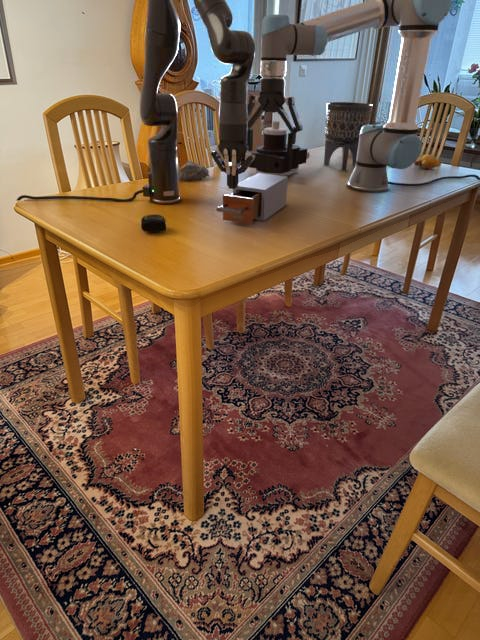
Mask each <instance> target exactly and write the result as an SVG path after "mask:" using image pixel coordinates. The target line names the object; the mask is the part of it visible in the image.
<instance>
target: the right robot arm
mask: <svg viewBox="0 0 480 640" xmlns="http://www.w3.org/2000/svg"><path fill="white" fill-rule="evenodd" d="M452 1H453V0H365V1H363V2H360V3H357V4H354V5H351V6H347V7H344V8H341V9H339V10H334V11H332V12H329V13H325V14H323V15H320V16H317V17H314V18H310V19H307V20H304V21H302V22H299V23H296V24H295V23H294V24H293V23H291V22H290V17H289V16H288V15H287V14H266V15H265V16H264V17H263V18H262V23H261V33H260V34H261V35H260V36H261V42H260V43H261V45H260V47H261V48H260V49H261V50H260V75H259V76H260V77H261V78H260V80H259V95H256V94H250V95H249V99H248V103H247V107H248V132H247V146H248V151H249V152H250V151H251V152H253V146H254V128H252V127H253V126H254V125H255V123H256V122H257V121H258V119H259V118H260V117H261V116H262V114H263V113H264V112H265V113H273V114H274V113H277V114H278V115H279V116H280V118H281V119H282V121H283V122H284V124H285V126H286V127H287V130H288V131H289V132H287V141H286V144H287V156H290V155H292V145H296V143H297V142H296V141H297V133H299V132H302V131H303V129H304V128H303V124H302V122H301V118H300V116H299V112H298V111H297V110H298V109H297V107H296V98H295V97H294V96H289V97H286V95H285V92H286V79H285V78H284V77H286V76H287V61H288V56H312V57H314V56H322V55H323V54H324V52H325V51H326V49H327V46H328V43H330V42H332V41H335V40H338V39H341V38H345V37H348V36H350V35H354V34H357V33H359V32H363V31H365V30H366V31H367V30H369V29H373V30H379V29H383V28H389V27H390V28H391V27H398V31H397V32H398V34H399V35H400V37H401V43H400V49H399V56H398V62H397V68H396V75H395V80H394V87H393V92H392V93H393V94H392V99H391V105H390V111H389V118H388V121H387V122H385V123H384V124H369V125H364V126H362V128H361V131H360V135H359V144H358V151H357V158H356V165H355V166H354V167H353V171H351V174H350V176H349V179H348V182H347V187H348V188H349V189H351V190H354V191H358V192H363V193H364V192H365V193H382V192H386V191H388V189H389V185H391V186H400V187H420V186H421V187H423V186H426V185H430V184H433V183H435V182H439V181H441V180H450V179H452V180H453V179H458V180H459V179H466V178H476V179H477V180H478V181H480V176H479V175H477V174H465V175H450V176H441V177H437V178H434V179H432V180H429V181H425V182H419V183H406V182H405V183H403V182H393V181H389V178H388V173H387V172H388V171H387V167H389V168H391V169H396V170H405V169H408V168H410V167H411V166H412V165H413V164H414V162H416V160H417V159H418V157H419V156H421V154H422V150H423V141H422V140H421V138H420V136H418V133H419V130H420V129H419V128H420V127H419V126H418V124H417V123H416V119H417V115H418V108H419V103H420V98H421V93H422V87H423V82H424V77H425V71H426V67H427V61H428V56H429V52H430V45H431V41H432V38H433V37H434V36H435V35H436V34H437V33H438V31H439V26H440V23H441V22H443V20H445V18H446V17H447V16H448V14H449V12H450V11H451V10H450V9H451V6H452ZM257 103H259V104H260V105H259V106H258V108H257V109H256V111H255V112H254V113H253V110H254V109H255V105H256V104H257ZM285 104H286V105H287V106H288V107H287V108H288V110H289V114H290V116H291V118H290V116H289V114H288V113H287V111H286V109H285V107H284V105H285ZM252 113H253V114H252ZM251 115H252V116H251ZM291 119H292V120H291Z"/></svg>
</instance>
